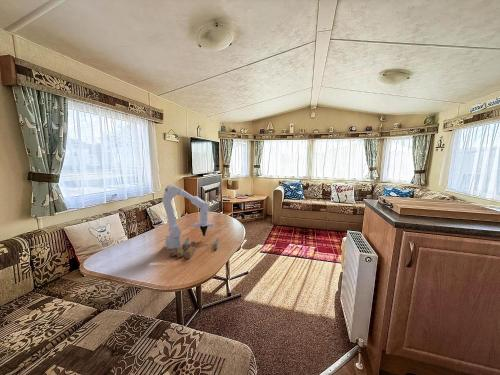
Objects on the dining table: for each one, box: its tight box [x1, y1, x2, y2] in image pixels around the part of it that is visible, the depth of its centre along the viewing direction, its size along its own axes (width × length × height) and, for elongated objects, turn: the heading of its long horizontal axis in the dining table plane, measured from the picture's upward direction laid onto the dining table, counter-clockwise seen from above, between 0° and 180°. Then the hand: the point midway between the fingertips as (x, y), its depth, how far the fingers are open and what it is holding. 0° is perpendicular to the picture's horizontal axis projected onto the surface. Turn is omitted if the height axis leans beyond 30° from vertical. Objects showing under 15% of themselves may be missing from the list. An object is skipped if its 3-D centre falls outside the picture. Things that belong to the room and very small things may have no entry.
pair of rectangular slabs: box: [182, 237, 220, 252], centre depth 141 cm, size 22×12×4 cm, turn 93°
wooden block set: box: [168, 240, 198, 260], centre depth 128 cm, size 18×9×10 cm
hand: (204, 235), depth 151 cm, fingers closed
